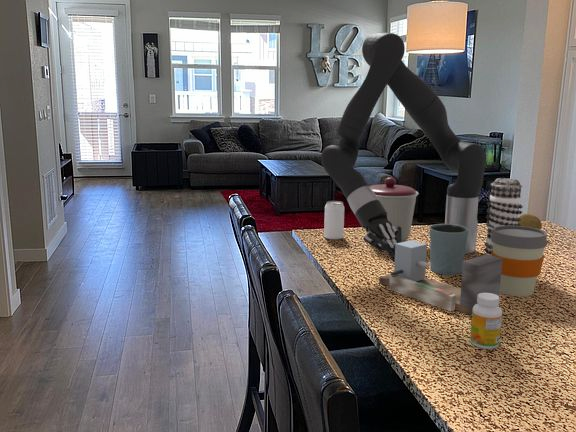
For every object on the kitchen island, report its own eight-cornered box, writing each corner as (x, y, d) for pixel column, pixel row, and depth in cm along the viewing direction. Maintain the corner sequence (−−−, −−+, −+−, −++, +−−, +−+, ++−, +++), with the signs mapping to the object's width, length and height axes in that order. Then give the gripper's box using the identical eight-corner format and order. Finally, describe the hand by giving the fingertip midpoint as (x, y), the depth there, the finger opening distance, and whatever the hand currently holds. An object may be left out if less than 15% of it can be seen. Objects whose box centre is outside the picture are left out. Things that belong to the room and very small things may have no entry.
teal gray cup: (465, 267, 157) (469, 225, 155) (464, 277, 148) (468, 233, 146) (428, 263, 161) (431, 222, 158) (425, 273, 151) (427, 230, 149)
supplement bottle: (465, 338, 111) (469, 291, 109) (491, 337, 112) (495, 290, 110) (476, 350, 106) (480, 301, 104) (504, 349, 107) (508, 300, 105)
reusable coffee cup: (536, 302, 131) (543, 240, 127) (481, 292, 137) (486, 232, 134) (545, 287, 141) (551, 229, 138) (493, 278, 148) (498, 223, 144)
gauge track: (374, 284, 143) (375, 240, 140) (402, 276, 149) (404, 233, 147) (470, 318, 121) (474, 267, 119) (498, 307, 128) (502, 258, 125)
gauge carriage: (383, 281, 139) (385, 246, 137) (409, 273, 145) (411, 240, 143) (409, 290, 133) (411, 253, 131) (435, 282, 139) (437, 246, 137)
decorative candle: (475, 268, 156) (483, 179, 151) (489, 261, 162) (497, 175, 157) (508, 276, 150) (517, 183, 144) (521, 268, 156) (530, 179, 151)
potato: (512, 234, 195) (514, 211, 193) (535, 235, 194) (537, 212, 192) (517, 239, 188) (519, 215, 187) (541, 240, 187) (543, 216, 186)
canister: (375, 231, 197) (377, 172, 193) (424, 239, 187) (428, 176, 182) (349, 242, 183) (351, 178, 178) (401, 251, 172) (404, 183, 168)
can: (342, 240, 185) (343, 204, 182) (322, 239, 186) (323, 203, 184) (344, 235, 191) (345, 201, 189) (325, 234, 192) (326, 200, 190)
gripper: (356, 201, 143) (390, 258, 137) (391, 196, 151) (425, 250, 145) (341, 218, 149) (374, 274, 142) (376, 212, 157) (408, 264, 150)
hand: (400, 261), depth 143 cm, fingers closed
